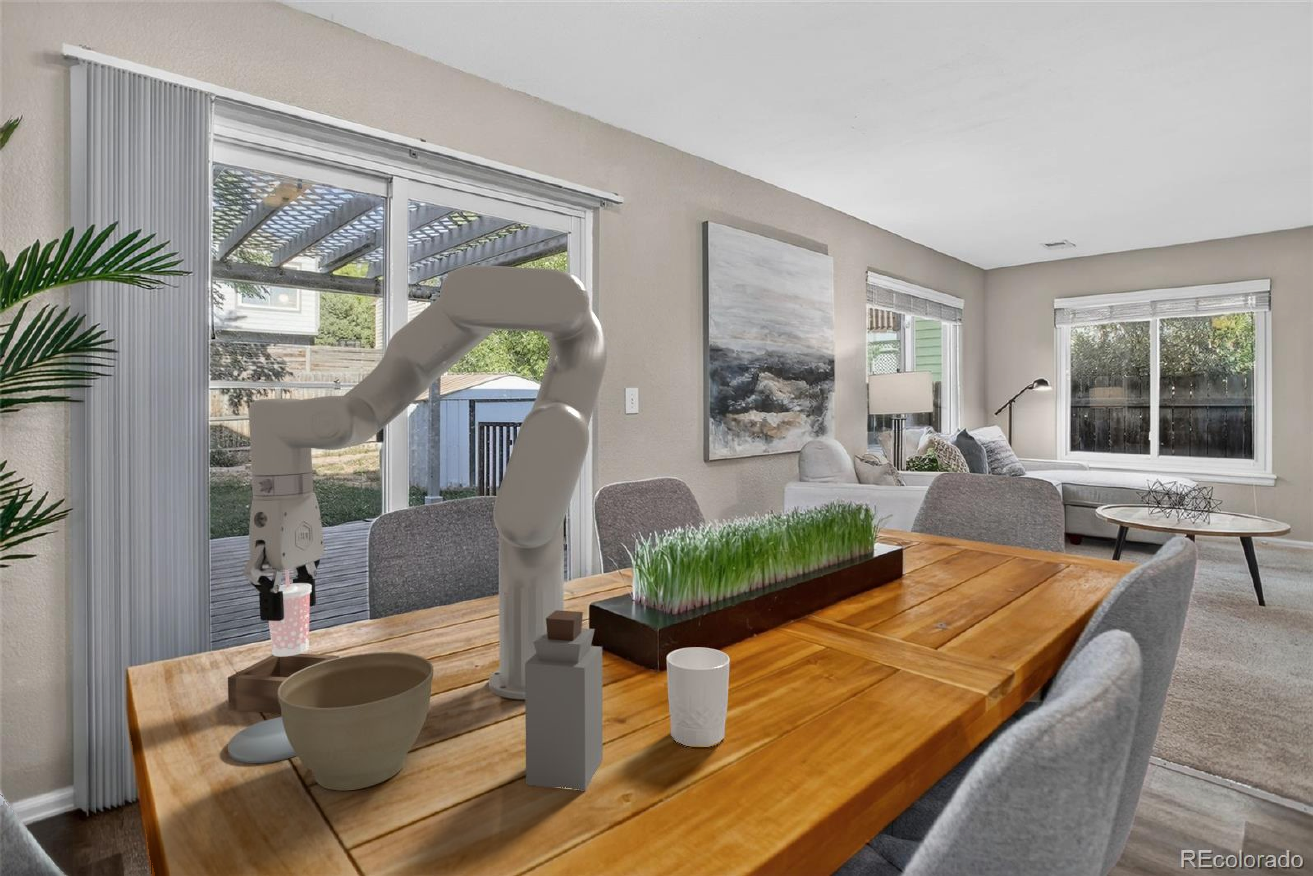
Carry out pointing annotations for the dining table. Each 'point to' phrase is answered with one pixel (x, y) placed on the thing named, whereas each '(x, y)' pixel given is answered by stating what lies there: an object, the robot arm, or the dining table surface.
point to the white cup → (698, 695)
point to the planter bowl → (356, 715)
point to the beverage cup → (292, 620)
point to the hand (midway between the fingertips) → (289, 611)
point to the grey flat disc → (261, 743)
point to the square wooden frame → (266, 681)
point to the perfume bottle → (563, 705)
